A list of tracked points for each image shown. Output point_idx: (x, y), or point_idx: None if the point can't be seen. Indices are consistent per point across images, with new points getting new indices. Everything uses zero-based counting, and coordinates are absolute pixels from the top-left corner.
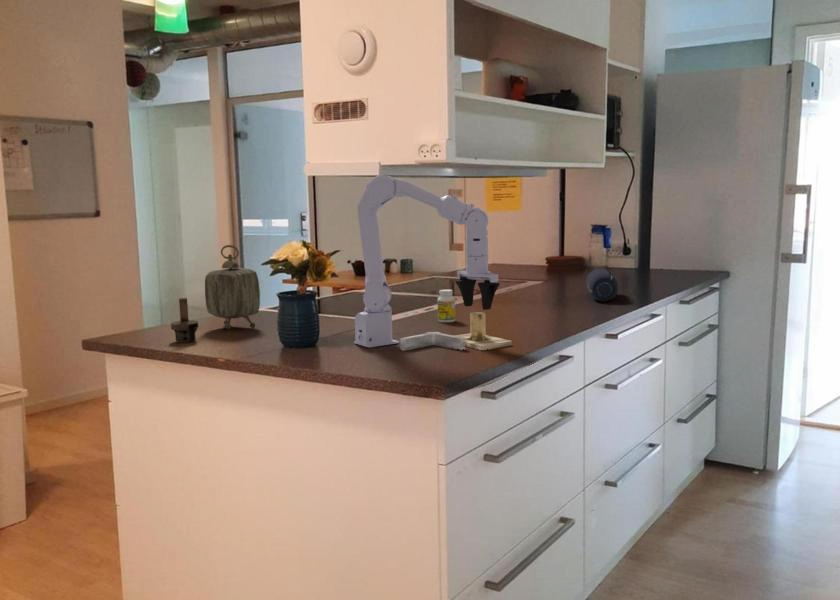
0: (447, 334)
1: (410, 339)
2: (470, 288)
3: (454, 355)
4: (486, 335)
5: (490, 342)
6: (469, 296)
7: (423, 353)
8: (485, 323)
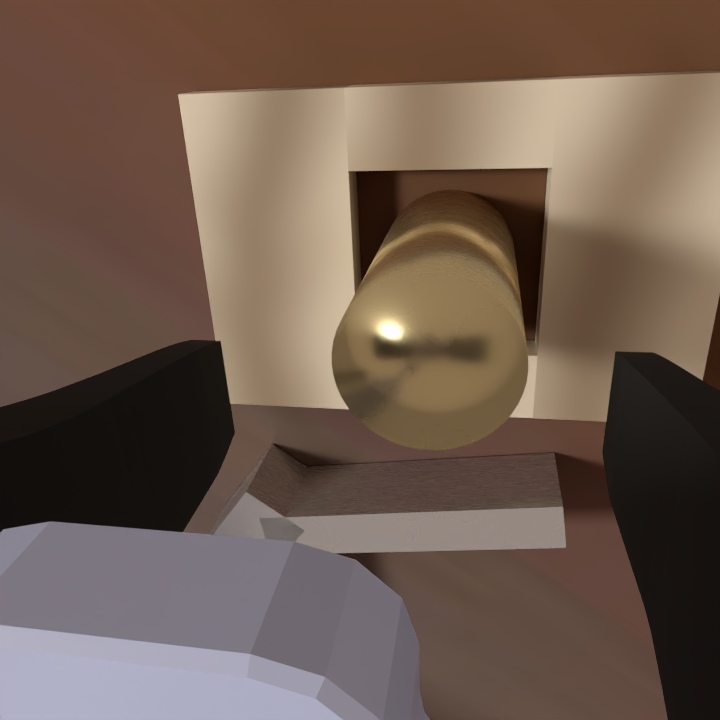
0: (363, 516)
1: None
2: (80, 513)
3: None
4: (364, 98)
5: (649, 284)
6: (159, 447)
7: (465, 664)
8: (495, 258)
